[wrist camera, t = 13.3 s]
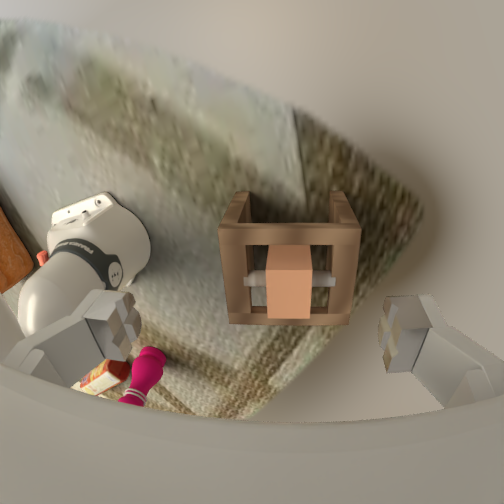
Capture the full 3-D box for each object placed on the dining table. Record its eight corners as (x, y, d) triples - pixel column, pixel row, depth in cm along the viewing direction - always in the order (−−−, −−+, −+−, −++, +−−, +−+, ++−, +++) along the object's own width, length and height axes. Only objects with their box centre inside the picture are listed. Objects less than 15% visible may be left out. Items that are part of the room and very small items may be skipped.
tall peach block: (271, 280, 44) (267, 318, 37) (270, 237, 40) (265, 270, 33) (307, 280, 43) (309, 318, 36) (308, 236, 40) (312, 270, 33)
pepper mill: (172, 365, 68) (146, 435, 51) (147, 365, 70) (118, 430, 52) (161, 344, 65) (130, 416, 48) (134, 344, 67) (101, 411, 49)
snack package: (101, 385, 80) (93, 401, 74) (84, 372, 78) (75, 388, 72) (134, 365, 71) (125, 385, 65) (114, 349, 69) (103, 368, 63)
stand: (242, 270, 53) (229, 325, 41) (236, 191, 46) (216, 230, 34) (337, 270, 51) (348, 326, 39) (342, 191, 44) (361, 229, 33)
